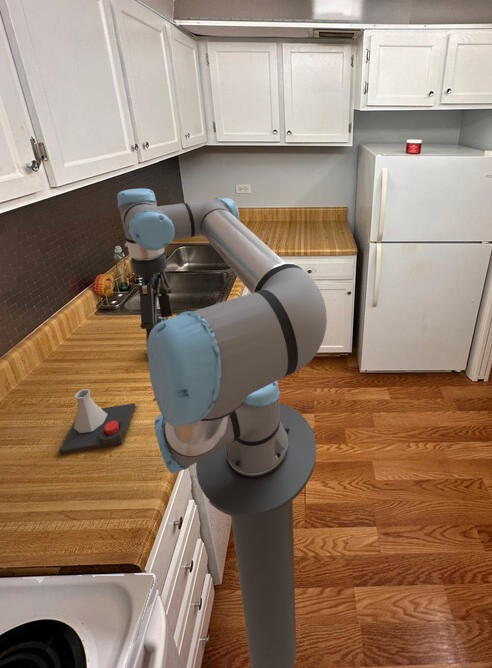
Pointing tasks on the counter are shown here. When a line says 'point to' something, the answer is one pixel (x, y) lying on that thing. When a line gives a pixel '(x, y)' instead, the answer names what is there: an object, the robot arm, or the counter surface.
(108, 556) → the counter surface
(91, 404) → the flask
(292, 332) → the robot arm
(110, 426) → the button
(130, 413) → the scale
